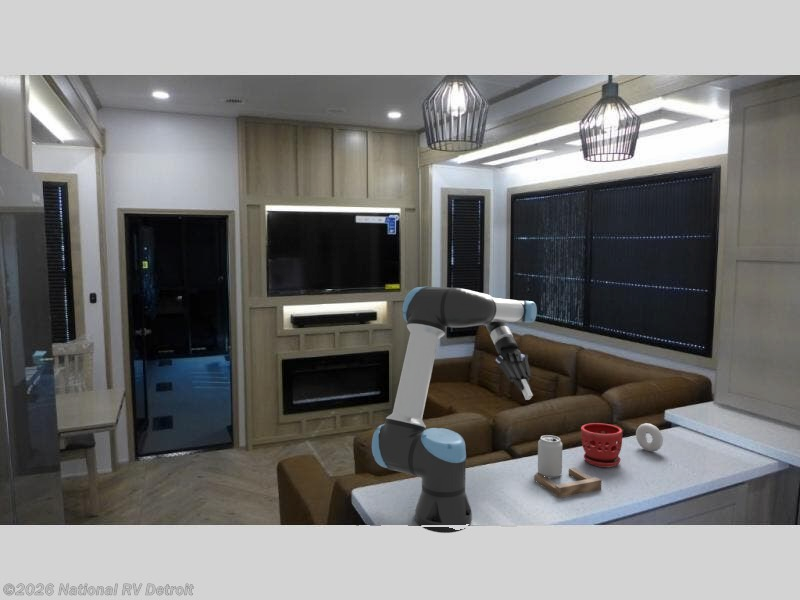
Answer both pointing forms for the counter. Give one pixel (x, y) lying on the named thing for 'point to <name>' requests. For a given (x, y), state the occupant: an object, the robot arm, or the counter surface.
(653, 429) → the donut
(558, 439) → the can
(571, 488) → the walnut frame
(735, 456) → the counter surface
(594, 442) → the plant pot
